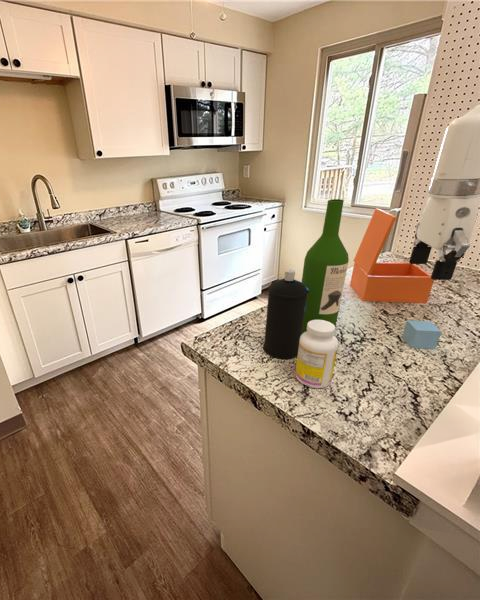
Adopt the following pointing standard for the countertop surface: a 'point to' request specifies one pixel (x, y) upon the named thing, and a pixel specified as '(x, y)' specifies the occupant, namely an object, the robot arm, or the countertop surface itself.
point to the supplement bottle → (317, 354)
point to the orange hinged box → (392, 283)
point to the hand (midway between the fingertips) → (428, 271)
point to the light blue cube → (421, 334)
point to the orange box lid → (374, 240)
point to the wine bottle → (325, 270)
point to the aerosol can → (285, 316)
